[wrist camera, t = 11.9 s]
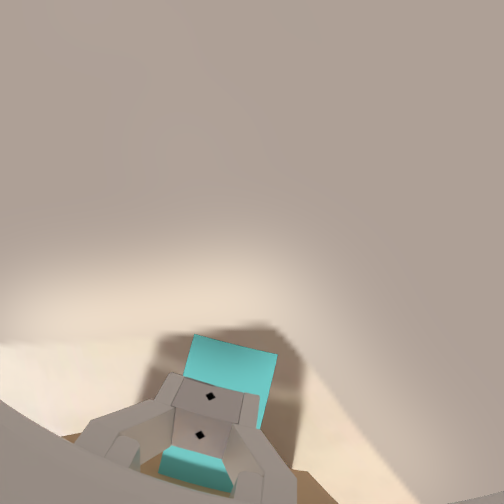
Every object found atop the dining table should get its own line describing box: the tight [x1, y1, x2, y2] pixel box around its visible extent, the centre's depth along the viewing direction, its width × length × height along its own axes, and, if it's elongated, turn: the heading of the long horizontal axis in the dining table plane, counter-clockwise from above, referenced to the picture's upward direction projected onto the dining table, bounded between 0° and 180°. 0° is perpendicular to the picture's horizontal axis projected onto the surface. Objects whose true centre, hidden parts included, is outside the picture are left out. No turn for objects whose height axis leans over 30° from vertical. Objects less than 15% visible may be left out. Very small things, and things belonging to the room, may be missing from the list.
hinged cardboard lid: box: [62, 334, 338, 504], centre depth 20 cm, size 17×11×10 cm
